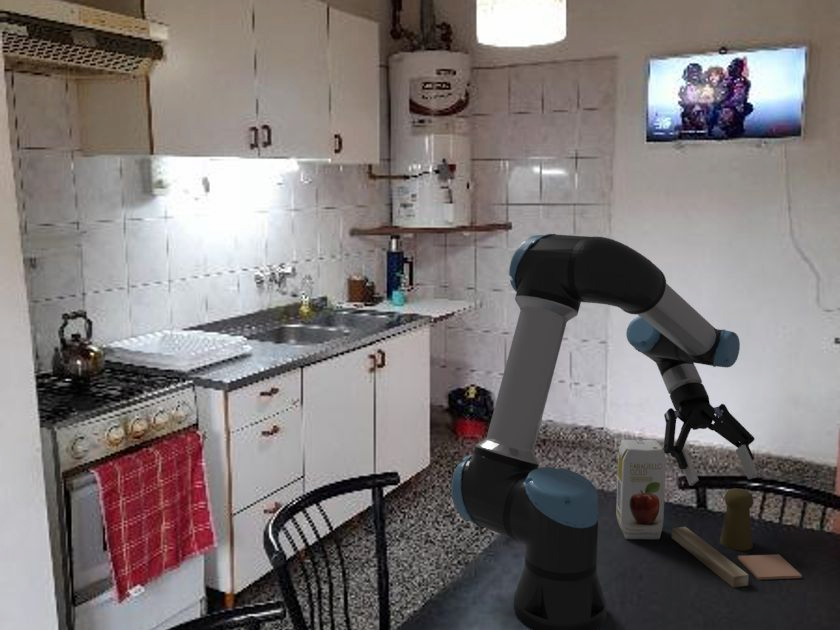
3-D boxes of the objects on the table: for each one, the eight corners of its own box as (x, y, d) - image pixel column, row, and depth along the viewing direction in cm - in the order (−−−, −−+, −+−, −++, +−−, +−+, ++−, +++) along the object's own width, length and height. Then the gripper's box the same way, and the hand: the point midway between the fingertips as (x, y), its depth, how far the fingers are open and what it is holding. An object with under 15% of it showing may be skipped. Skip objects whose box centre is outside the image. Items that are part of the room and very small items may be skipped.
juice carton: (613, 524, 160) (616, 437, 157) (655, 525, 160) (659, 437, 156) (621, 541, 153) (625, 450, 149) (665, 541, 152) (669, 450, 149)
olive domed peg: (755, 551, 147) (759, 498, 146) (722, 549, 149) (725, 495, 147) (749, 537, 153) (752, 486, 152) (717, 535, 155) (720, 483, 153)
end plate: (758, 579, 137) (758, 577, 137) (737, 558, 145) (737, 555, 145) (801, 578, 137) (801, 575, 137) (778, 556, 145) (778, 554, 145)
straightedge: (732, 587, 135) (733, 576, 134) (671, 537, 154) (671, 528, 153) (747, 585, 135) (748, 574, 135) (684, 535, 154) (685, 526, 154)
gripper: (727, 393, 173) (767, 481, 161) (627, 402, 167) (661, 493, 156) (744, 376, 167) (786, 466, 155) (640, 384, 161) (676, 478, 150)
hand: (724, 479), depth 155 cm, fingers open, 13 cm apart
